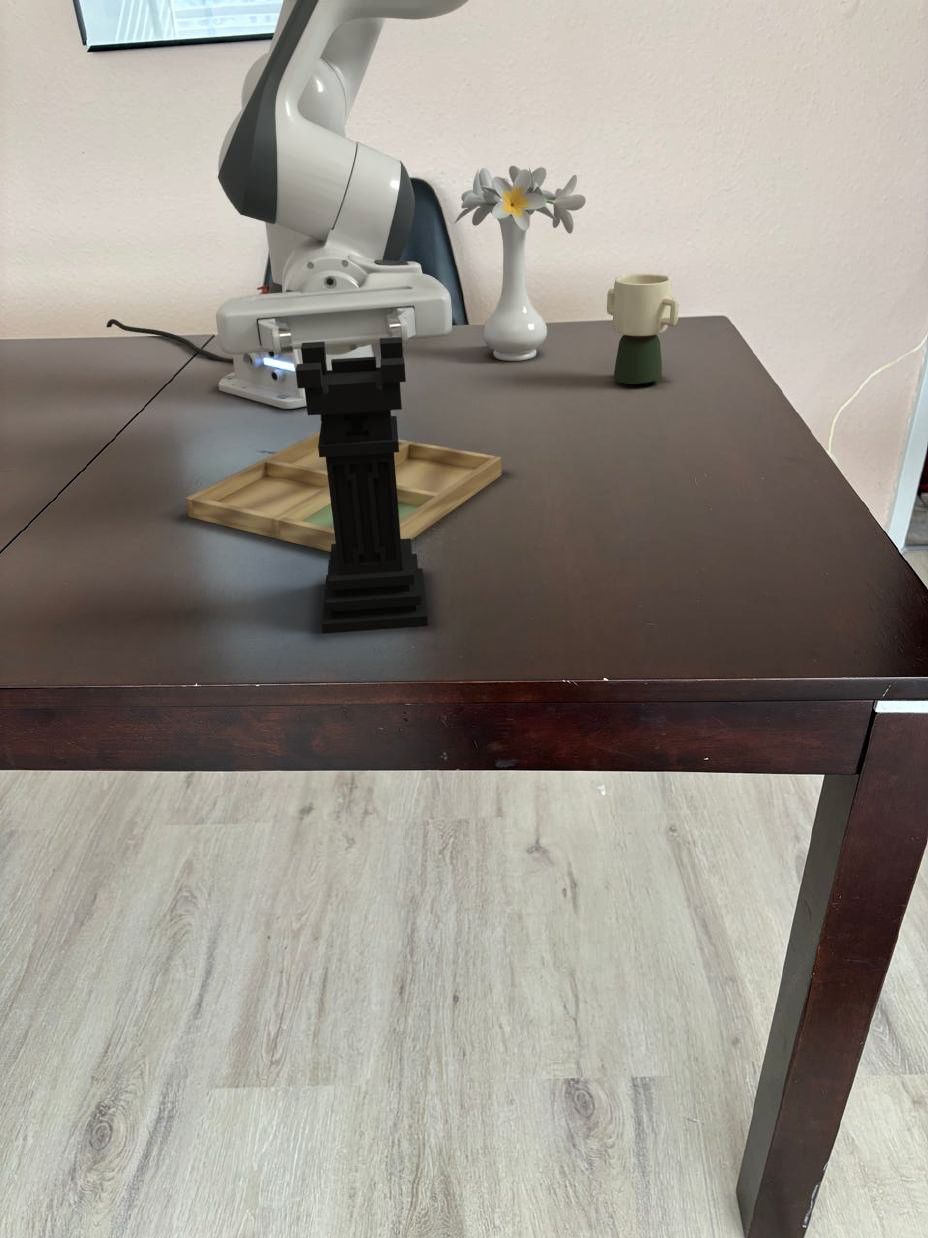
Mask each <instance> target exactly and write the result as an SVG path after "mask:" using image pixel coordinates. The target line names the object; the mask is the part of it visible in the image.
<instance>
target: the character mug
mask: <svg viewBox="0 0 928 1238" xmlns="http://www.w3.org/2000/svg"><path fill="white" fill-rule="evenodd" d="M613 283H614V284H613V288H609V289H608V291H607V295H606V313H607V314H608V315H611V316H612V329H613V331H614V332H615V333H617V334H619V335H620V334H621V335H622V336H621V337H620V339H619V342H618V347H617V353H616V359H615V364H614V372H613V379H614V380H615V381H617V382H618V383H621V384H626V385H639V384H644V385H645V386H646V385H649V383H652V382H655V381H661V380H663V370H662V369H663V368H662V367H663V366H662V365H663V364H662V363H663V361H662V350H661V349H662V348H661V340H660V338H659V336H658V335H659V334H662V333H664V332H666V330H668V327H675V326H676V325H677V323H678V319H679V308H680V307H679V306H680V303H679V300H678V299H677V298H674V297H672V288H673V279H672V277H670V276H669V275H665V274H664V275H663V274H661V273H660V274H659V273H632V274H623V275H619V276H617V277H615V279H614V282H613Z"/></svg>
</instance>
